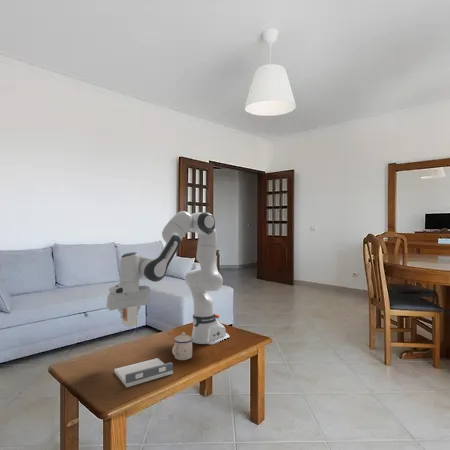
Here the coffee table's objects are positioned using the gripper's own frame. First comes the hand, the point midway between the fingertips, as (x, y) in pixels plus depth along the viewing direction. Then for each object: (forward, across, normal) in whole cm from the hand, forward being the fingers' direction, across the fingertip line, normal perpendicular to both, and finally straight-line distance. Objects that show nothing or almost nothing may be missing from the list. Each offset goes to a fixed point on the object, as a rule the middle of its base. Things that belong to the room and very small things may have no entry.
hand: (129, 316), depth 149 cm
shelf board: (+21, 0, +16) cm, 26 cm away
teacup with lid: (+21, -22, +11) cm, 32 cm away
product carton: (+4, 0, 0) cm, 4 cm away
